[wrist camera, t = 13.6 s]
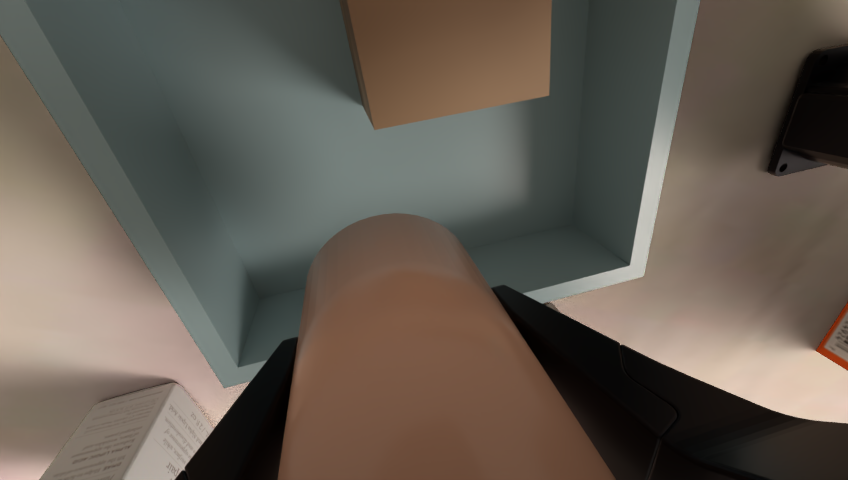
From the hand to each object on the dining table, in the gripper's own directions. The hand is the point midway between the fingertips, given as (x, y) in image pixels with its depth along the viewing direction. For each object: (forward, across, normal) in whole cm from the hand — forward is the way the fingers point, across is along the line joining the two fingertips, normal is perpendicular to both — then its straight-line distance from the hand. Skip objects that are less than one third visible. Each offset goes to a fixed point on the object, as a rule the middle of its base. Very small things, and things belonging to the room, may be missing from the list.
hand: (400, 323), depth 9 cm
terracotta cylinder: (+2, 0, 0) cm, 2 cm away
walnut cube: (+8, -3, -7) cm, 11 cm away
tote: (+8, -2, -4) cm, 9 cm away
